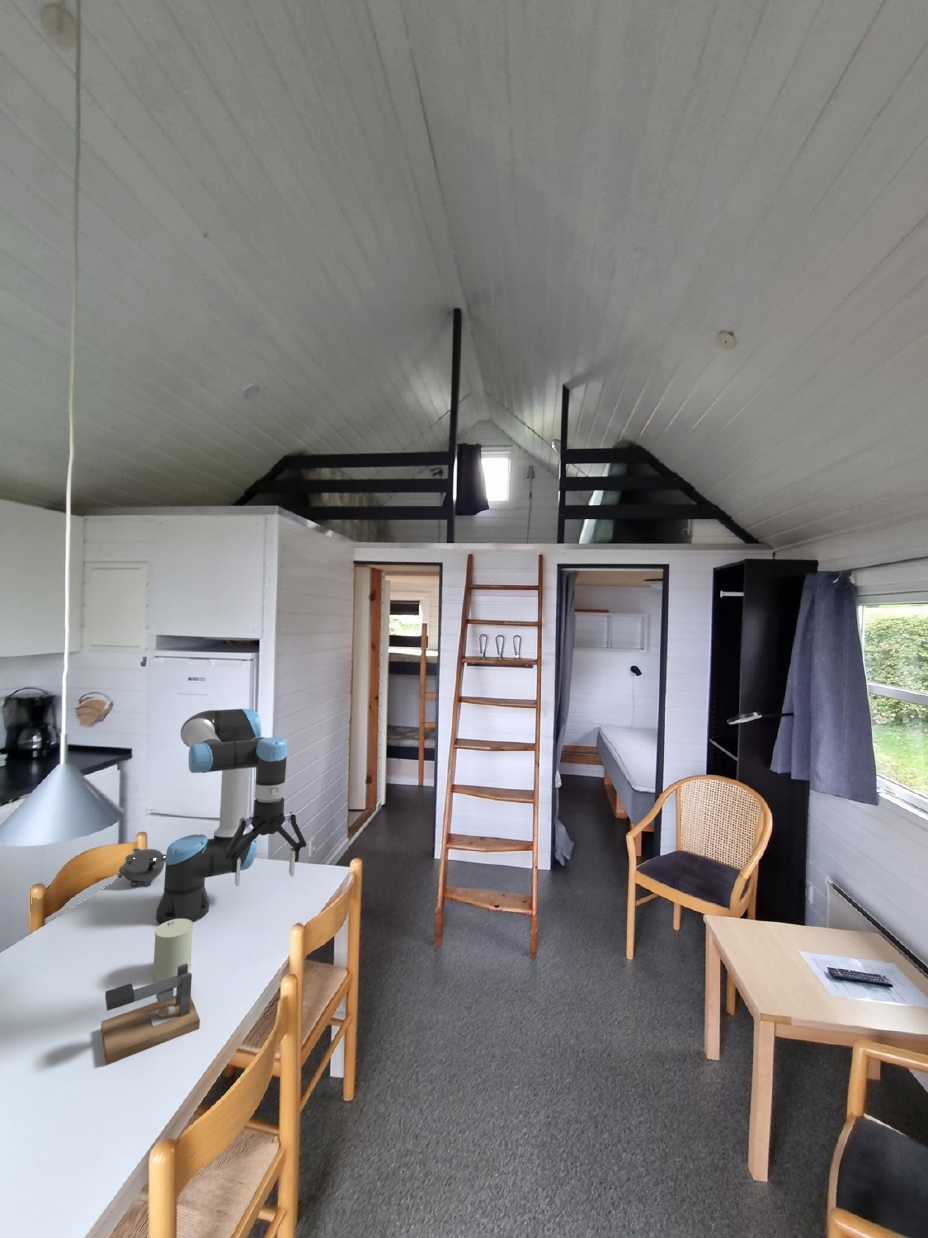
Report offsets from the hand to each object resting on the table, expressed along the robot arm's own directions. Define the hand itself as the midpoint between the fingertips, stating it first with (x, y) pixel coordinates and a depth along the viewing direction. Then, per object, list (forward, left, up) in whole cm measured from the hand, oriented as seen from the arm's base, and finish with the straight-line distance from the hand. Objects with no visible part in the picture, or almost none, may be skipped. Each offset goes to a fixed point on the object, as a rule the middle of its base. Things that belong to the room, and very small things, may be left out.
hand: (264, 879), depth 139 cm
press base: (+2, -25, -27) cm, 37 cm away
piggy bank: (-78, -16, -28) cm, 84 cm away
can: (-18, -17, -28) cm, 37 cm away
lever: (+2, -26, -21) cm, 33 cm away
